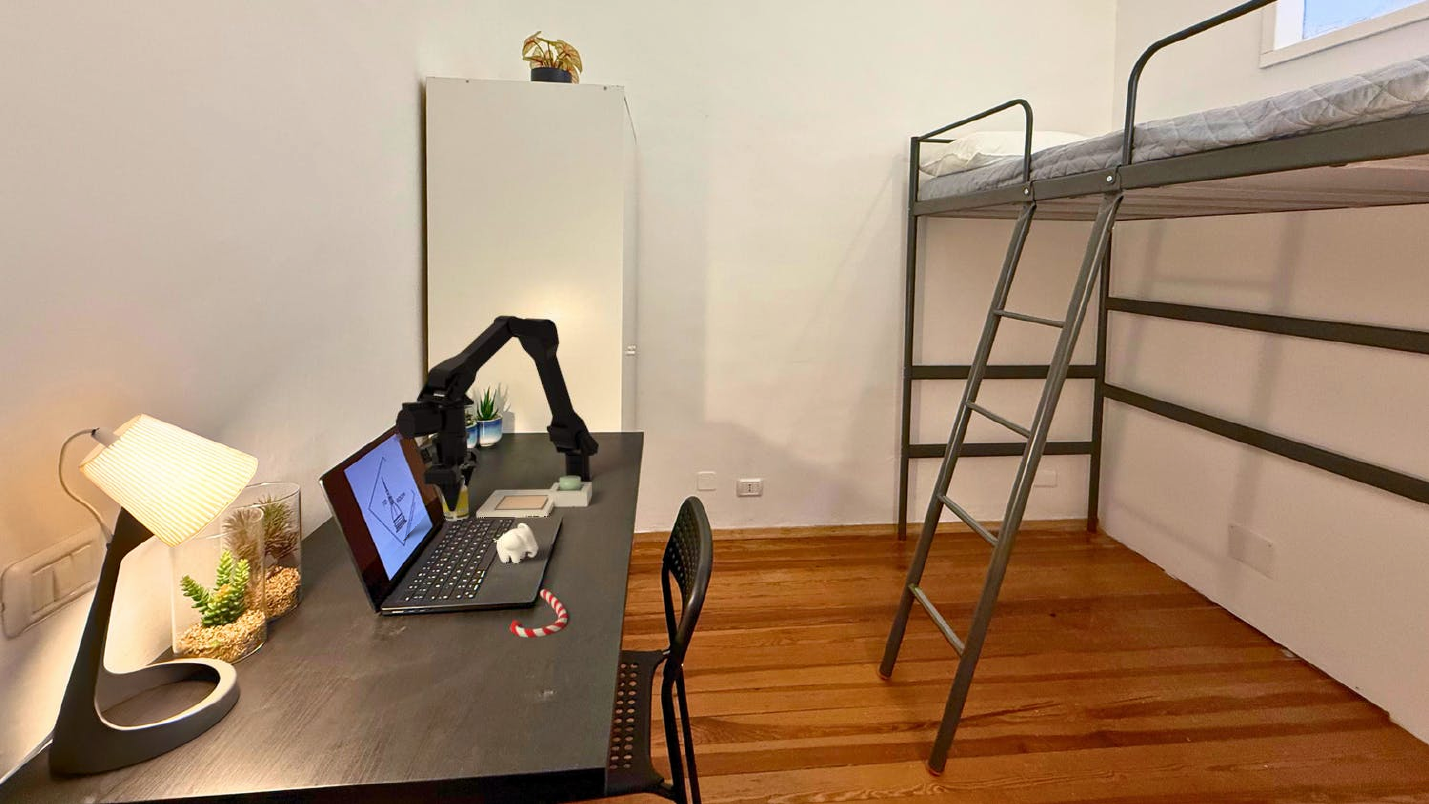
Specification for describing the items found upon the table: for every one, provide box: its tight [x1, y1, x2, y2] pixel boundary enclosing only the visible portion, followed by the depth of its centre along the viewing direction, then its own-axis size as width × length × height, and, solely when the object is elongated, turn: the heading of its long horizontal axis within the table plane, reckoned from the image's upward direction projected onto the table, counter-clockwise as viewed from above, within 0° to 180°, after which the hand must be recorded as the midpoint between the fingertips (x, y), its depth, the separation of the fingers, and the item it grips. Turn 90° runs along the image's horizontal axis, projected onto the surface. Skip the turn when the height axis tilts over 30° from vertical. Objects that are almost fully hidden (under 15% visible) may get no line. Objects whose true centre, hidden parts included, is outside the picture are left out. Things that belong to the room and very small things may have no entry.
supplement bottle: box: [441, 475, 470, 522], centre depth 161 cm, size 5×5×8 cm
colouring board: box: [476, 488, 554, 519], centre depth 170 cm, size 16×14×1 cm
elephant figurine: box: [492, 522, 540, 564], centre depth 138 cm, size 7×8×6 cm
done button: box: [559, 475, 581, 491], centre depth 173 cm, size 4×4×2 cm
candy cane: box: [510, 589, 568, 638], centre depth 118 cm, size 8×1×15 cm
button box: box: [548, 481, 593, 508], centre depth 173 cm, size 8×8×3 cm
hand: (455, 507), depth 162 cm, fingers closed on supplement bottle, 5 cm apart
